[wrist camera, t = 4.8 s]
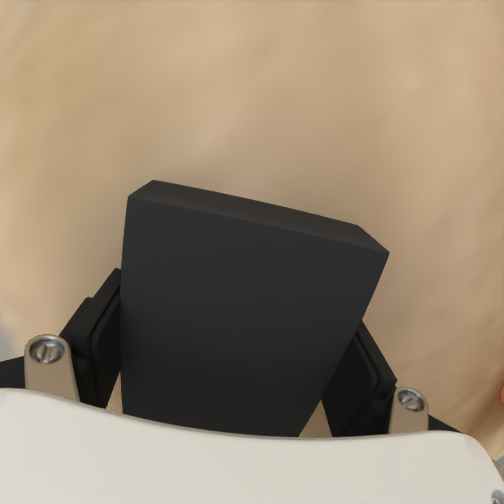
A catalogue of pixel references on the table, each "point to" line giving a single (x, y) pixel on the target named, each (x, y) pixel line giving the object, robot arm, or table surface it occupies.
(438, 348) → the table surface
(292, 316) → the black box
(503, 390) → the potted cactus
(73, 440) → the robot arm
